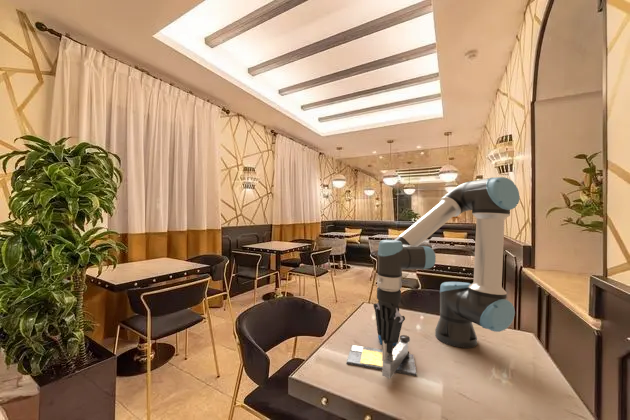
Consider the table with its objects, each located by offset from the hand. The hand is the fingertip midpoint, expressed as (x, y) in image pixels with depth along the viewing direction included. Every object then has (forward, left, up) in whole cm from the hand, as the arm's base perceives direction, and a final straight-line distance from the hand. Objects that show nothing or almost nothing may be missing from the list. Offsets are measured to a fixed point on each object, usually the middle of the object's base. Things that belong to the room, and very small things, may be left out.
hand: (386, 360), depth 84 cm
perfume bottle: (0, -21, -3) cm, 21 cm away
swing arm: (-3, -2, -1) cm, 4 cm away
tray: (+2, -6, -3) cm, 7 cm away
